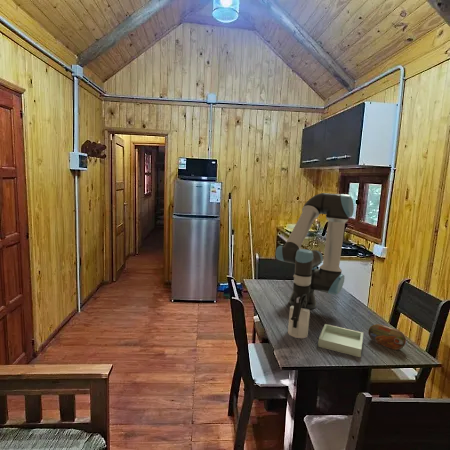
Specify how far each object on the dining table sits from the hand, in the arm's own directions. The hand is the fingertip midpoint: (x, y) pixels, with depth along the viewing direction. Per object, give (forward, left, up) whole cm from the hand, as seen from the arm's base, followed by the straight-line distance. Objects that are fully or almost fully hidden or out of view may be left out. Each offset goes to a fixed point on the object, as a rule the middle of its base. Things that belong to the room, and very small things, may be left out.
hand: (298, 327), depth 150 cm
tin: (-10, +37, -3) cm, 38 cm away
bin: (-1, +19, -3) cm, 19 cm away
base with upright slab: (0, 0, -3) cm, 3 cm away
